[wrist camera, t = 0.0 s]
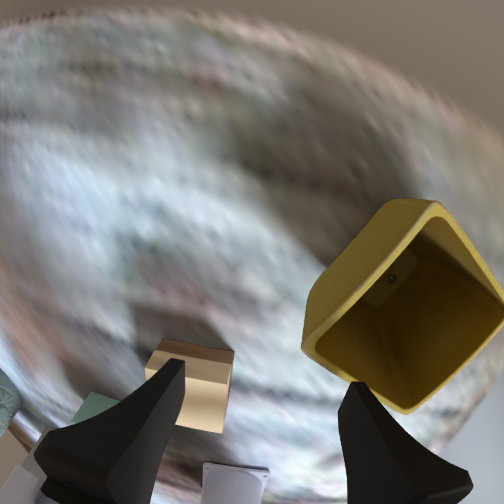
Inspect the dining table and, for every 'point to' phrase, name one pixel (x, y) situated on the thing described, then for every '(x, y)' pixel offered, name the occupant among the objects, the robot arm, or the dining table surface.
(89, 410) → the teal block
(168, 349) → the walnut slab
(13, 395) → the grey-green embossed container
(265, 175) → the dining table surface
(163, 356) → the oak slab
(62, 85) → the dining table surface
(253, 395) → the dining table surface
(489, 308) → the flower pot
